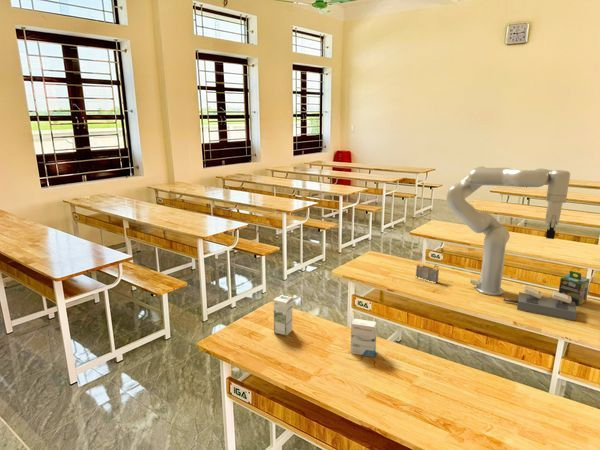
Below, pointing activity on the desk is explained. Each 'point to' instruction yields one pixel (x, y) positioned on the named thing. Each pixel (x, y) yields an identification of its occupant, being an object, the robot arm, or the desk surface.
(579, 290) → the chalk box
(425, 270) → the architectural model on board
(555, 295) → the block
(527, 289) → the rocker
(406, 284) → the desk surface
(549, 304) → the power strip
